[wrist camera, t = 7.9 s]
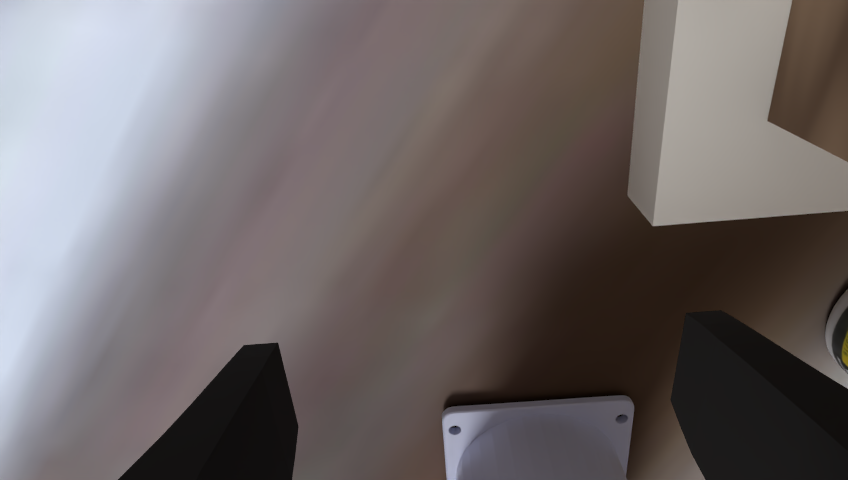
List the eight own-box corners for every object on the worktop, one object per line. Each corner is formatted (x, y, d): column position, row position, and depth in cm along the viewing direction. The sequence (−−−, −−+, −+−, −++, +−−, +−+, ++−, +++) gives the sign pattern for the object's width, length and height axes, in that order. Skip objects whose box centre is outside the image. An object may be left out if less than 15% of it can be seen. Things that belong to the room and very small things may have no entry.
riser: (905, 166, 21) (978, 200, 18) (622, 189, 21) (653, 226, 18) (1015, -177, 16) (1136, -200, 13) (650, -143, 16) (696, -158, 14)
